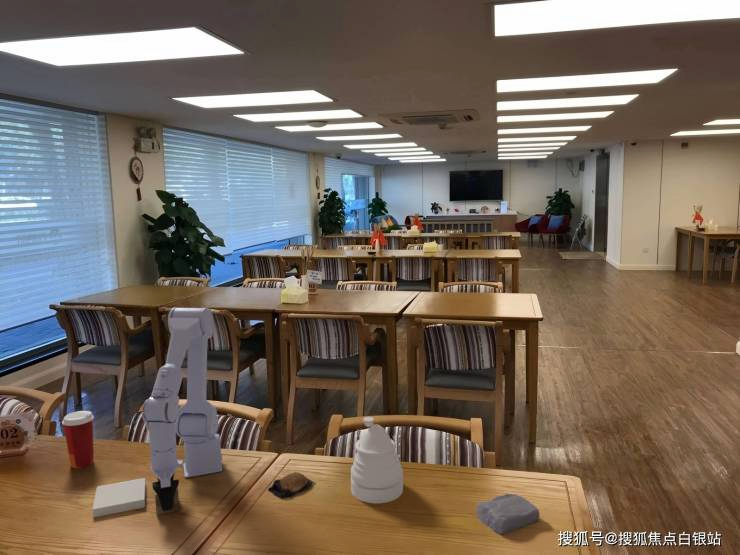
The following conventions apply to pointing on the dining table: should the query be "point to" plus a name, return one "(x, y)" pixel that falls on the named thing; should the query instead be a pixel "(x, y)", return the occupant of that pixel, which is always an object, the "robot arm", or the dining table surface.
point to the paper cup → (79, 438)
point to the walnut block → (160, 511)
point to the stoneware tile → (119, 497)
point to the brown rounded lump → (290, 485)
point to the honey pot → (376, 467)
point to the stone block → (507, 513)
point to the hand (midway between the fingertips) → (167, 501)
